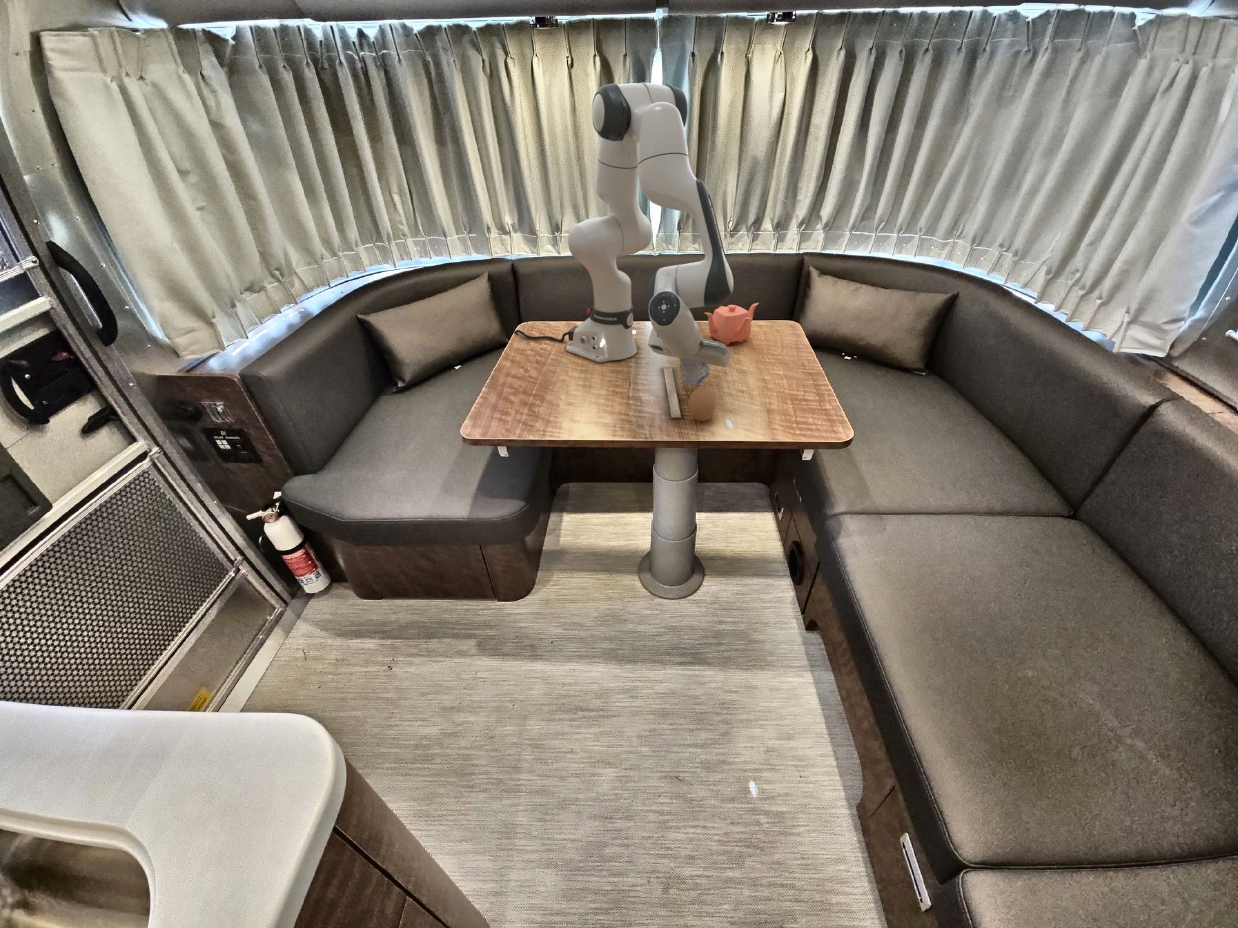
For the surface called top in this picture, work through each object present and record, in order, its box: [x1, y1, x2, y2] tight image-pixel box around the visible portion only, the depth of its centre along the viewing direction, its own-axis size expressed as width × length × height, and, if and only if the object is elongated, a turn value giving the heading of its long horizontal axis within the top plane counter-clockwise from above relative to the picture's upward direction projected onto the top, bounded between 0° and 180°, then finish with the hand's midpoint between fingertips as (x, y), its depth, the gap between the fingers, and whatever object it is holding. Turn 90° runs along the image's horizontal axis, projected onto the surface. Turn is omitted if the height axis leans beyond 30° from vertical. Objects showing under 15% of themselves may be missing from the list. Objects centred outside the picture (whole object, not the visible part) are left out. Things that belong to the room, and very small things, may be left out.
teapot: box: [704, 302, 759, 346], centre depth 169 cm, size 14×14×11 cm
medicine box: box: [681, 359, 710, 387], centre depth 139 cm, size 8×4×9 cm, turn 148°
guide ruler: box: [662, 367, 682, 419], centre depth 143 cm, size 2×28×1 cm, turn 0°
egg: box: [687, 385, 717, 422], centre depth 129 cm, size 7×7×9 cm
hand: (696, 361), depth 139 cm, fingers closed on medicine box, 4 cm apart
